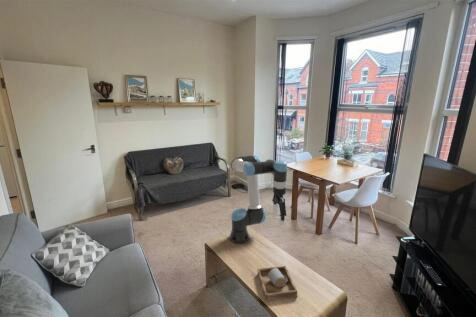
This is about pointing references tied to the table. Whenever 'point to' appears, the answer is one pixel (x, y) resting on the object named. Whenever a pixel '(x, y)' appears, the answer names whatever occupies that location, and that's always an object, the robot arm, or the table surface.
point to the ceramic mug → (277, 278)
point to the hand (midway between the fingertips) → (278, 218)
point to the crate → (273, 292)
